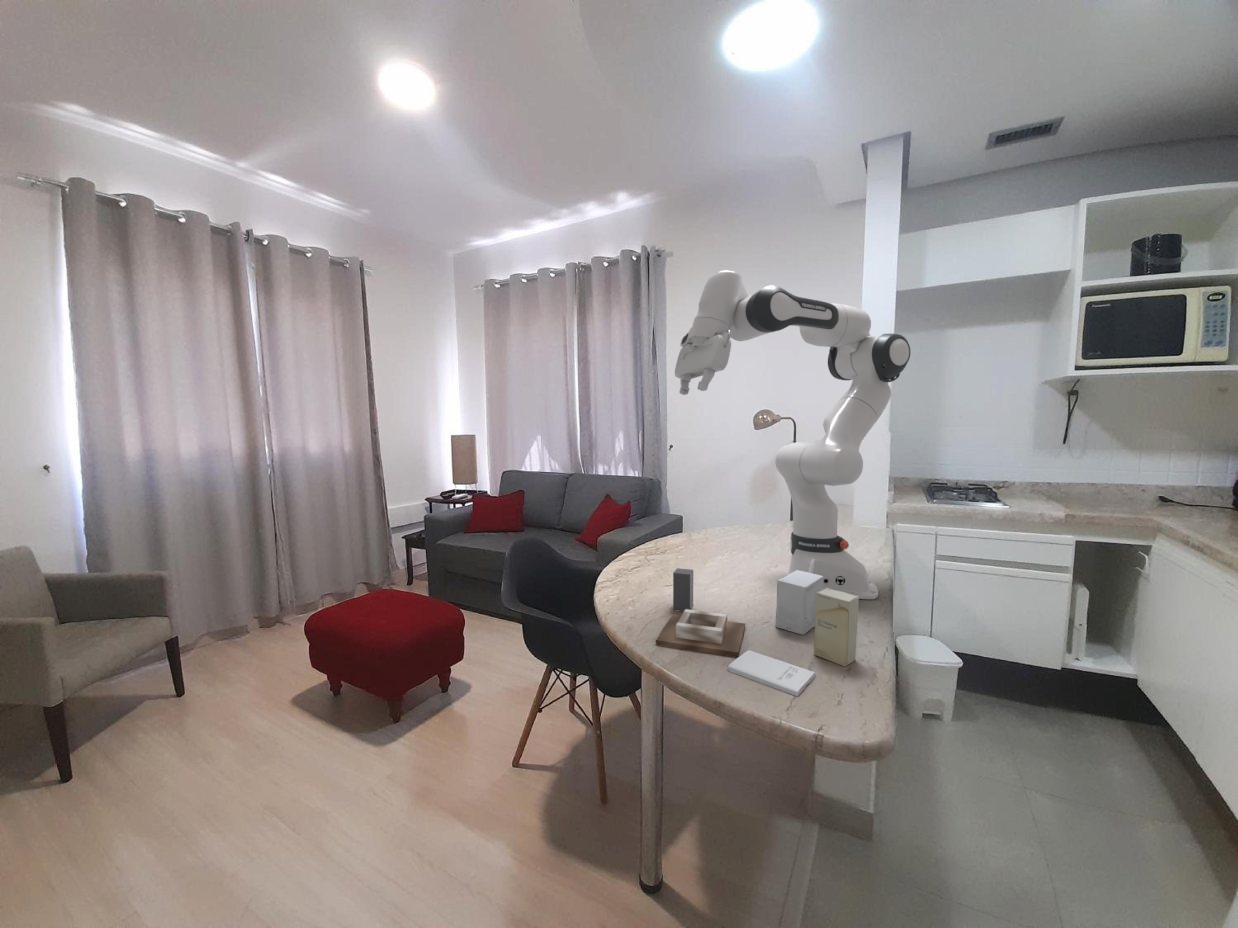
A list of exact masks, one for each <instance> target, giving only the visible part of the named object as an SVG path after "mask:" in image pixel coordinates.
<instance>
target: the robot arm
mask: <svg viewBox="0 0 1238 928" xmlns="http://www.w3.org/2000/svg"><path fill="white" fill-rule="evenodd" d="M697 310H698V311H697V314H696V315H695V317H694V319H693V323H692V326H691V327H690V328H689V330H688V332H687V333H685V335H684V336H683V338H681V341H680V345H679V346H680V347H681V348H680V349H679V353H678V356H677V358H676V363H675V368H674V376H675V377H676V378H678V379H680V389H679V394H680V395H683V396H685V395H688V394H689V392H690V387H689V385H690V384H689V383H691V380H693V379H696V378H700V377H702V378H701V379H700V381H699V382H698V385H697V390H699V391H701V392H705V391H708V387H709V384H710V383H711V381H713V380H712V379H713V378H714V377H715V375H716V374H715V373H717V372H722V371H724V370H725V369H726V367H727V366H728V364H729V358H730V354H731V351H732V350H731V348H732V340H731V339H733V340H735V341H738V342H745V341H746V342H747V341H750V340H753V339H754V338H757V337H761V336H764V335H766V334H770V333H774V332H778V331H781V330H784V329H786V328H788V327H789V326H792V327H799V333H800V336H801V338H802V339H803V341H804V342H805V343H806V344H809V345H813V346H816V347H822V348H823V347H825V348H826V347H827V348H829V347H830V348H829V350H828V357H827V367H828V370H829V373H830V375H831V376H832V377H833V378H834V379H837V380H840V381H851V384H850V387H849V389H848V390H847V391H846V392H845V393H844V394H843V395H842V397H840V399H839V400H838V401H837V403H836V404H835V405H834V406H833V407H832V409H831V410H830V411H829V412H828V414H827V415H826V416H825V417H824V419H823V422H822V427H823V431H824V433H825V435H823V437H822V438H821V439H820V440H818V441H796V442H791V443H788V444H786V445H783V446H782V447H781V448H779V450H778V451H777V453H776V455H775V466H776V469H777V471H778V472H779V474H780V475H781V476H782V478H783V479H784V481H785V483H786V485H787V488H788V492H789V496H790V498H791V504H792V532H791V534H790V542H789V543H790V548H789V549H790V553H791V557H790V564H789V565H790V566H789V569H788V573H787V575H789V574H791V573H793V572H794V571H796V570H799V571H803V572H808V573H812V574H816V575H821V576H823V589H825V588H829V589H833V590H837V591H841V592H845V593H848V594H852V595H856V596H859V600H875V599H877V598H878V596H879V589H878V587H877V586H876V585H875V584H874V583H873V582H871V581H869V575H868V571H867V569H866V568H865V566H864V564H862V563H861V562H860V561H859V560H858V559H856V558H855V557H854V556H853V555H852V554H850V553H849V552H848V551H847V549H849V547H850V544H849V542H848V540H846V538H843V537H842V536H840V535H839V534H838V520H839V519H838V516H839V515H838V514H839V513H838V511H839V510H838V506H837V504H836V503H835V502H834V501H833V499H831V497H830V496H829V495H828V493H827V489H826V486H832V487H833V486H834V487H835V486H845V485H851V484H853V483H855V482H856V481H857V480H858V479H859V478H860V476H861V475H862V473H863V469H864V459H863V457H862V454H861V452H860V446H861V444H862V442H863V440H864V439H865V437H866V436H867V434H868V433H869V432H870V430H872V428H873V427H874V425H876V423H877V422H878V420H879V419H880V417H881V416H882V414H883V413H884V411H885V409H886V407H887V405H888V404H889V402H890V399H891V396H892V390H891V387H890V385H889V383H891V382H895V381H896V380H898V378H899V377H900V375H901V373H902V372H903V371H904V370H905V368H906V366H907V364H908V363H909V361H910V359H911V358H910V357H911V346H910V344H909V342H908V340H907V338H906V337H905V336H903V335H902V334H899V333H883V334H881V335H880V334H879V335H873V336H871V334H870V331H871V328H872V320H871V316H869V314H868V313H867V312H866V311H865V310H863V309H861V308H858V307H855V306H854V305H853V306H852V305H849V304H848V305H847V304H844V303H843V304H842V303H835V302H826V301H822V300H817V299H811V298H807V297H800V296H796V295H795V294H793V293H790V292H789V291H787V290H786V289H785V288H783V287H781V286H777V285H767V286H764V287H762V288H760V290H758V291H756V292H755V293H753V294H751V295H750V293H749V292H748V290H747V289H746V288H745V285H744V284H743V280H742V276H741V274H739V273H738V272H736V271H733V270H728V269H727V270H719V271H716V272H714V273H712V274H711V275H710V276H709V277H708V279H707V281H706V283H705V285H704V287H703V290H702V293H701V296H700V299H699V301H698V309H697Z"/></svg>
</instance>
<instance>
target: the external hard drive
mask: <svg viewBox="0 0 1238 928" xmlns="http://www.w3.org/2000/svg"><path fill="white" fill-rule="evenodd" d="M727 672H729V673H733V674H736V675H739V676H742V677H744V678H746V679H749V680H751V681H754V682H758V683H760V684H762V685H765V686H768V687H771V688H774V689H776V690H779V691H782V692H784V693H787V694H790V695H793V696H795V697H799V696H800V694H801V693H803V691H804V690H805V689H806V688H807V685H810V683H811V682H812V681H813V680H814V679H815V678H816V674H817V673H816V672H815V671H812V670H809V669H806V668H803V667H801V666H797V665H794V664H791V663H788V662H785V661H782V660H780V659H777V658H774V657H771V656H768V655H766V654H761V653H759V652H755V651H753V650H750V649H748V650H746V651H745V652H744V653H742V654H741V655H739V657H736V658H735V659H734V660H733V661H732V662H731V663H729V665H728V666H727Z"/></svg>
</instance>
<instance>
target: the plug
mask: <svg viewBox="0 0 1238 928" xmlns="http://www.w3.org/2000/svg"><path fill="white" fill-rule="evenodd" d="M672 578H673V579H672V582H673V583H672V585H673V588H672V589H673V591H672V594H673V595H672V598H673V599H672V601H673V602H672V603H673V604H672V606H673V607H672V610H673V611H676V610H679V611H678V612H684V611H685V609H688V610H693V608H692V607H694V569H691V568H689V569H688V568H679V567H677V568H676V569H675V570H674V571H673V575H672Z"/></svg>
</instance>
